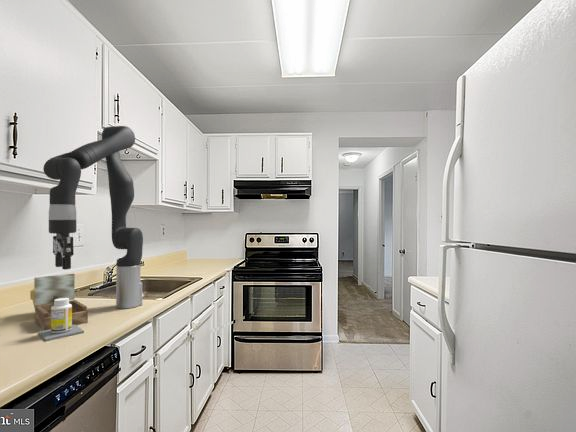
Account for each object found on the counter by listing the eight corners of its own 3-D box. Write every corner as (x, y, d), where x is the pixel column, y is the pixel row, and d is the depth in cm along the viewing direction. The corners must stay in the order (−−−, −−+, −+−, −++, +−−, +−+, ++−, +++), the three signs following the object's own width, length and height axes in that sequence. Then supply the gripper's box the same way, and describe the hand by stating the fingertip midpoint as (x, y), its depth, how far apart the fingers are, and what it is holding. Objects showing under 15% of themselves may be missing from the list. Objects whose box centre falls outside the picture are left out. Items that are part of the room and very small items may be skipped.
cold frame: (73, 313, 127) (73, 273, 127) (87, 322, 115) (88, 278, 115) (34, 320, 118) (34, 277, 118) (44, 331, 106) (45, 283, 106)
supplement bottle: (66, 327, 108) (66, 296, 108) (75, 330, 105) (75, 298, 105) (47, 332, 103) (47, 299, 103) (55, 335, 100) (56, 301, 101)
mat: (75, 326, 111) (75, 324, 111) (83, 332, 104) (83, 330, 104) (38, 333, 104) (38, 331, 104) (45, 341, 97) (45, 339, 97)
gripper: (82, 218, 104) (82, 268, 104) (69, 218, 114) (70, 264, 114) (54, 218, 99) (54, 271, 99) (43, 218, 108) (43, 267, 108)
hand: (62, 267), depth 106 cm, fingers open, 8 cm apart
